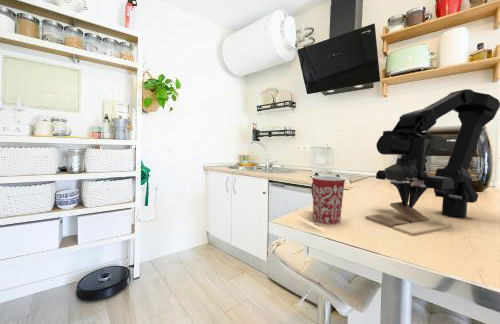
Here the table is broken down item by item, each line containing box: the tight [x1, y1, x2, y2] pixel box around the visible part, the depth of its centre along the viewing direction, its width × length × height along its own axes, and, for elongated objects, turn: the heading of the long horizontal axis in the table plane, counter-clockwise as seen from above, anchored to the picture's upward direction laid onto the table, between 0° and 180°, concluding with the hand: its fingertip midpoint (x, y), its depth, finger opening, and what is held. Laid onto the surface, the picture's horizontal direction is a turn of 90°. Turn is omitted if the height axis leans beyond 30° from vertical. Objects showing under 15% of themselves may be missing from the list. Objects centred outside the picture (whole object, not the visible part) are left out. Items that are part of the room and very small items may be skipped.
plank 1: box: [364, 213, 408, 229], centre depth 61 cm, size 6×8×1 cm
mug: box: [311, 175, 346, 227], centre depth 64 cm, size 13×9×14 cm
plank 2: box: [389, 201, 430, 223], centre depth 64 cm, size 6×8×1 cm
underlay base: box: [392, 219, 454, 237], centre depth 61 cm, size 16×14×2 cm
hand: (408, 206), depth 65 cm, fingers closed
